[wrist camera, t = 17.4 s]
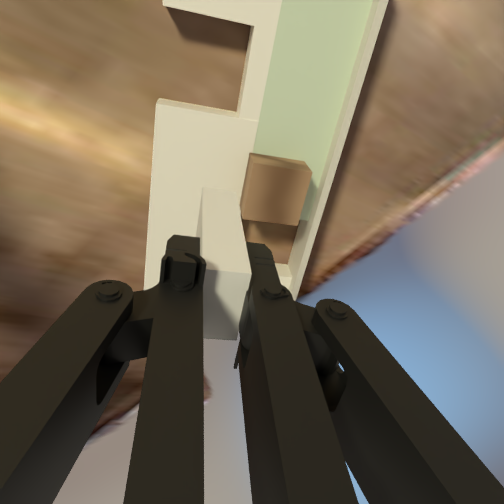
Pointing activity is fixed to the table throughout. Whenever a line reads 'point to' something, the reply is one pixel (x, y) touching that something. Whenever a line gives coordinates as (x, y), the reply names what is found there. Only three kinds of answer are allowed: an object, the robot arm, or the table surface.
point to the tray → (265, 115)
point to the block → (274, 189)
